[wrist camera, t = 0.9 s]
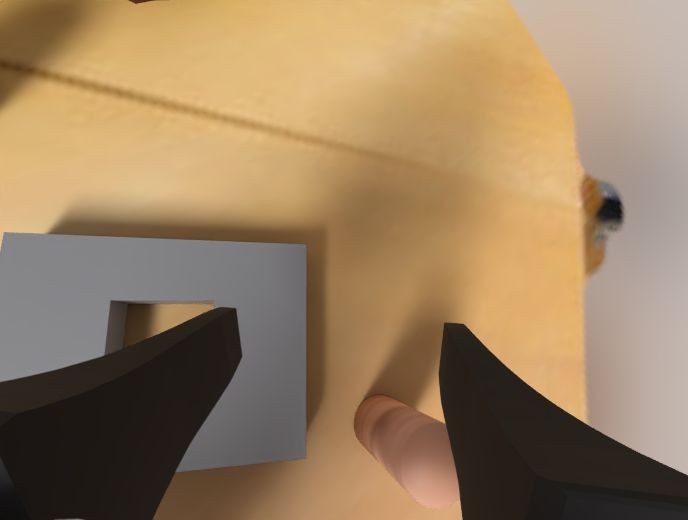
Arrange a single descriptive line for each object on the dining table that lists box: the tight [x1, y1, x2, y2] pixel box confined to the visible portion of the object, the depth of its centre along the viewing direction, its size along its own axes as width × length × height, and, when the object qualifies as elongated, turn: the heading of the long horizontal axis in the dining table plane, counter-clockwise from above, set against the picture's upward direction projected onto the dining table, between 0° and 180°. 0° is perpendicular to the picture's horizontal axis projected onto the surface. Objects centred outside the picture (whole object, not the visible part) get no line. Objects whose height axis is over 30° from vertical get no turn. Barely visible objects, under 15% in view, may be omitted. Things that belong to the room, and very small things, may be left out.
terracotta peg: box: [354, 395, 460, 509], centre depth 22 cm, size 4×4×9 cm
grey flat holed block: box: [0, 232, 307, 472], centre depth 23 cm, size 14×18×3 cm
